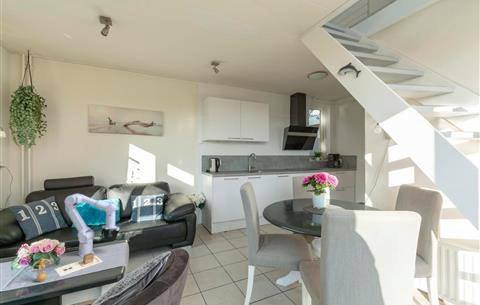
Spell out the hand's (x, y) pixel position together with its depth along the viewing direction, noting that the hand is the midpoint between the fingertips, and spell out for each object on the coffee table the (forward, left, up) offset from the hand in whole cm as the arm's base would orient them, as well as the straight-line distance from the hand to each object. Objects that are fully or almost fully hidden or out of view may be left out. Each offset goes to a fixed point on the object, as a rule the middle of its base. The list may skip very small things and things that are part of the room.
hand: (110, 239), depth 153 cm
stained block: (+5, -15, -9) cm, 18 cm away
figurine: (+7, -38, -10) cm, 40 cm away
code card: (+5, -20, -9) cm, 22 cm away
